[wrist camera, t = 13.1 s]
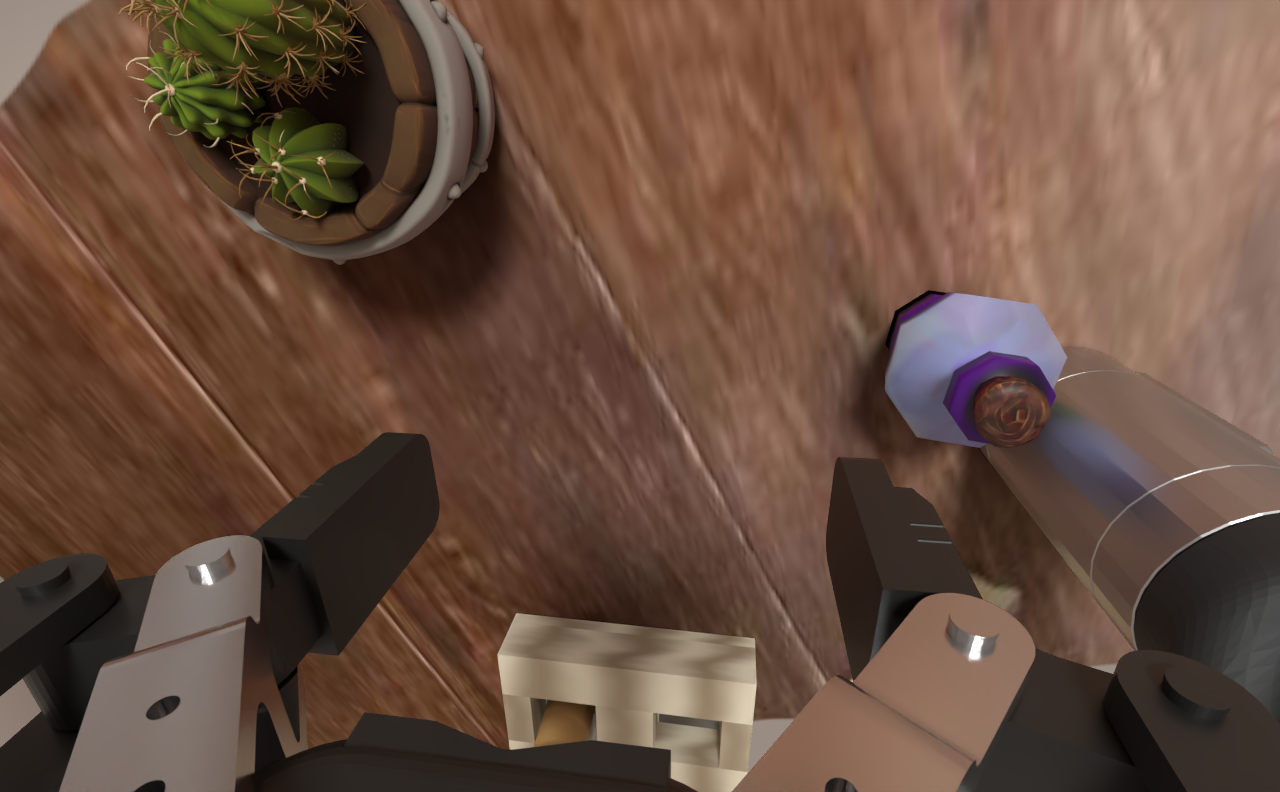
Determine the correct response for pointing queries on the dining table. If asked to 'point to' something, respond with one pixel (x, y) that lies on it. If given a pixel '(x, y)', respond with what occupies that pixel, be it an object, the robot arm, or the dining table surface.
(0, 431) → the dining table surface
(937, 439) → the potion bottle
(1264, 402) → the dining table surface
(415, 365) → the dining table surface
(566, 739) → the peg
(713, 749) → the hole block
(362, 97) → the flowerpot
